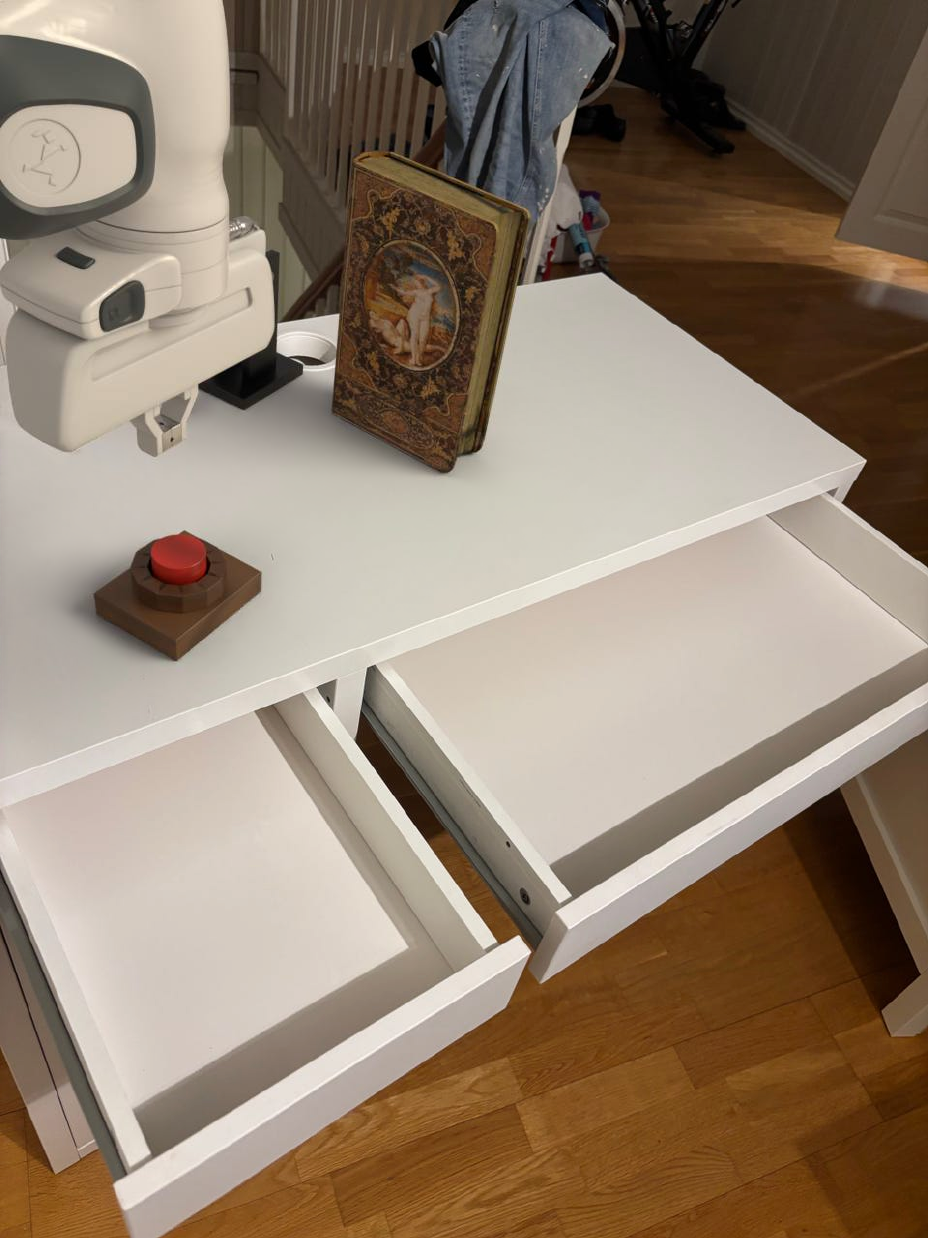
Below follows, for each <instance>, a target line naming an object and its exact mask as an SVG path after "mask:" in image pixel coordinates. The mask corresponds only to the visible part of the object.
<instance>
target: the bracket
mask: <svg viewBox="0 0 928 1238" xmlns="http://www.w3.org/2000/svg"><path fill="white" fill-rule="evenodd" d="M265 257H266V258H267V260H268V262H269V265H270V269H271V274H272V282H273V295H274V332H273V335H272V337H271V340H270V342H269V344H268V346H267V347H266V348H265V349H263V350H261V351H259V352H258V353H256V354H254V355H252V356H250V357H248V358H246V359H244V360H242V361H241V362H239V363H237V364H235V365H233V366H231V367H229V368H227V369H226V370H224V371H222V372H220V373H218V374H216V375H214V376H212V377H211V378H209V379H207V380H205V381H203V382H201V383H199V384H198V389H200V390H202V391H204V392H206V393H208V394H210V395H212V396H214V397H216V398H218V399H220V400H223V401H224V402H227V403H228V404H231V405H232V406H235V407H236V408H238V409H241V410H243V411H245V410H246V409H248V408H249V407H252V406H253V405H254V404H256V403H258V402H259V401H260V400H263V399H264V398H266V397H268V396H269V395H271V394H272V393H274V392H276V391H277V390H279V389H281V388H282V387H284V386H286V385H287V384H289V383H290V382H292V381H293V380H295V379H298V378H299V377H300V376H302V375H303V374H304V364H303V363H301V362H299V361H297V360H295V359H293V358H290V357H289V356H286V355H284V354H282V353H280V352H278V320H279V295H280V293H279V291H280V287H279V286H280V259H281V253H280V251H277V250H275V249H270V250H266V251H265Z"/></svg>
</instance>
